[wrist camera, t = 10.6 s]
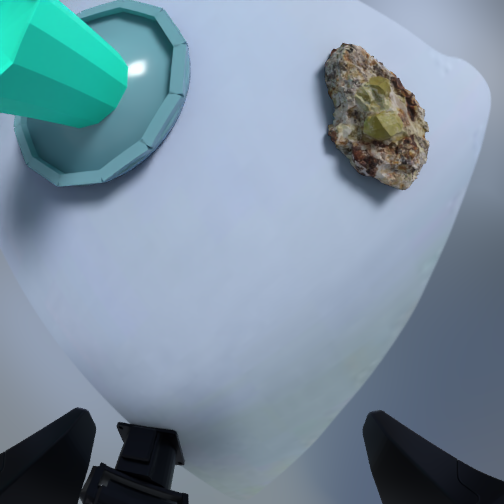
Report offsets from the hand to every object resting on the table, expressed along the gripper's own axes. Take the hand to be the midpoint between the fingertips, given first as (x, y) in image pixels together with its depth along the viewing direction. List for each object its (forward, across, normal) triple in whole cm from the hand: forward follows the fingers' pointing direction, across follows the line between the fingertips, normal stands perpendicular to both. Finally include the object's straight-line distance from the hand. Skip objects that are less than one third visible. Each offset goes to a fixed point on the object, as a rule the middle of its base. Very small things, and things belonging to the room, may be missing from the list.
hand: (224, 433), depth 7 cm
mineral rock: (+13, -10, -12) cm, 20 cm away
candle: (+12, +10, -14) cm, 21 cm away
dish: (+13, +10, -14) cm, 21 cm away
